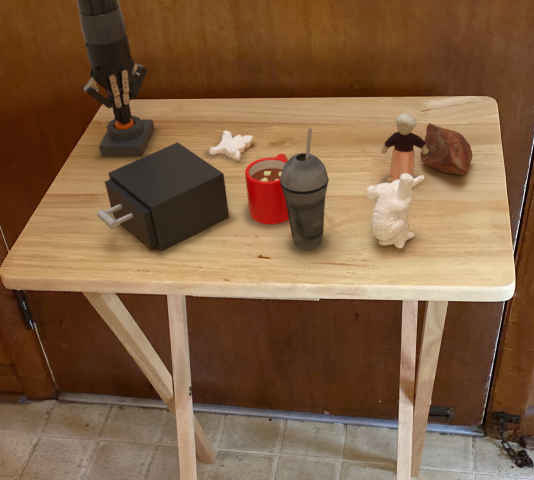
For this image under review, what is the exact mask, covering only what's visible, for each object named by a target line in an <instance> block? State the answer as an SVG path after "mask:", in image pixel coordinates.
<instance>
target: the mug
mask: <svg viewBox="0 0 534 480" xmlns="http://www.w3.org/2000/svg"><path fill="white" fill-rule="evenodd" d="M288 160H289V158H288V157H287V156H286V154H284V153H279V154H277V155H276V156H273V157H272V156H269V157H263V158H259V159H256V160H254V161H252V162H251V163H249V164H248V165H247V167H246V168H245V170H244V176H245V187H246V193H247V203H248V210H249V216H250V217H251V219H253V221H255V222H257V223H259V224H264V225H277V224H281V223H285V222H287V221H289V216H288V210H287V205H286V199H285V196H284V193H283V190H282V186H281V184H280V179H281V173H282V170H283V167H284V165H285V163H286V162H287V161H288Z"/></svg>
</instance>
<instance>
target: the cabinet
mask: <svg viewBox="0 0 534 480" xmlns="http://www.w3.org/2000/svg"><path fill="white" fill-rule="evenodd" d="M107 174H108V178H109V180H110V179H112V180H113V181H114V182H115V183H117V184H118V185H119V186H120V187H121V188H122V187H123V188H124V189H125V190H126V191H128V192H129V193H130V194H131V195H133V196H134V197H135V198H136V199H137V200H139V201H140V202H141V203H142V204H144V205H145V206H146V207H147V208H149V209H150V212H151V217H152V221H153V226H154V231H155V236H156V240H157V245H158V246H156V247H155V248H156V249H157V250H158V251H159V252H163V251H165V250H167V249H169V248H171V247H173V246H175V245H177V244H180V243H181V242H183V241H185V240H187V239H189V238H191V237H192V236H195V235H197V234H199V233H200V232H202V231H205V230H207V229H210V228H211V227H213V226H215V225H216V224H219V223H221V222H223V221H225V220H227V219H229V218H230V214H229V213H230V212H229V205H228V197H227V190H226V182H225V176H224V175H225V174H224V172H222V171H221V170H220V169H218V168H216V167H215V166H213V165H212V164H210V163H209V162H208V161H206V160H205V159H203V158H202V157H200V156H199V155H197V154H195V153H194V152H193V151H191V150H189V148H187V147H186V146H184V145H182V144H181V143H180V142H175V143H172V144H171V145H168V146H166V147H163V148H162V149H159V150H157V151H154V152H152V153H150V154H147V155H145V156H142V157H140V158H138V159H136V160H134V161H132V162H129V163H127V164H125V165H123V166H120V167H118V168H116V169H114V170H112V171H109V172H108V173H107Z"/></svg>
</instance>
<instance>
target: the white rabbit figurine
mask: <svg viewBox="0 0 534 480" xmlns="http://www.w3.org/2000/svg"><path fill="white" fill-rule="evenodd" d="M399 179H400V180H399ZM399 179H397V180H395V181H393V182H392V183H387V182H382V183H381V182H380V183H378V184H376V185H373V184H372V185H368V187H367V189H366V192H365V193H366V198H367V200H368V201H372V200H374V206H373V207H372V208H373V209H372V213H371V218H370V231H371V234H372V235H373V237H374V238H376V239H377V240H378V244H379V245H380V246H391V245H394V247H395V248H397V249H399V250H400V249H403V248H404V247H405V244H406V242H407V241H408V240H411V239H412V238H415V236H416V234H415V233H414V232H413V231H409V230H408V229H409V226H410V224H409V220H408V219H409V218H408V212H409V211H408V209H409V208H410V206H411V204H412V202H413V198H414V190H413V188H414V187H416V186H417V185H418V184H420V183H422V181H424V180H425V175H424V174H421V175H418V176H417V177H415V178H414V176H411V175H410V174H407V173H404V174H402V175H401V176H400V178H399Z"/></svg>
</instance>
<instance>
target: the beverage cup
mask: <svg viewBox="0 0 534 480" xmlns="http://www.w3.org/2000/svg"><path fill="white" fill-rule="evenodd" d="M312 130H313V129H312V128H310V127H309V128H308V129H307V137H306V139H307V140H306V141H307V142H306V149H305V152H300V153H297V154H294V155H292V156H291V157H290V158H288V161H287V162H286V163H285V165H284V167H283V170H282V173H281V179H280V184H281V186H282V190H283V193H284V196H285V199H286V205H287V210H288V216H289V220H288V221H289V227H290V233H291V237H292V241H293V245H294V247H295V248H296V249H298V250H300V251H306V252H308V251H309V252H310V251H313V250H316V249H318V248H320V247H321V246H322V243H323V235H324V224H325V222H324V221H325V207H326V194H327V189H328V185H329V180H330V179H329V176H328V171H327V167H326V165H325V164H324V162H323V161H322V160H321V159H320V158H319V157H318V156H316V155H314V154H312V153H311V143H312Z"/></svg>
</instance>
